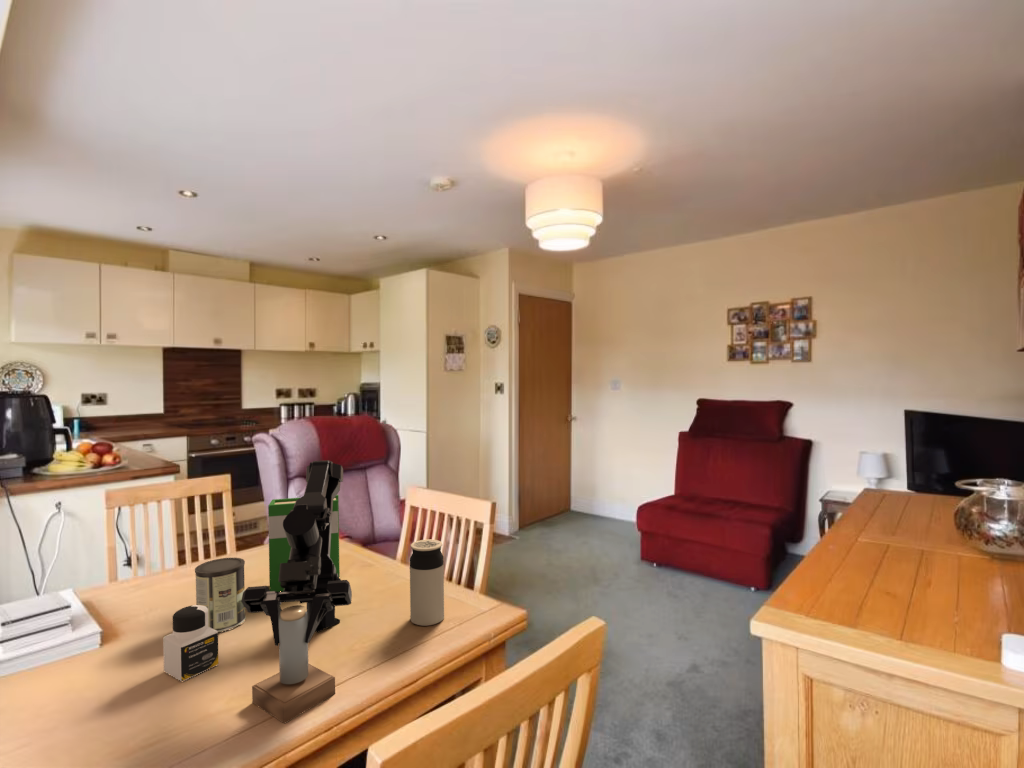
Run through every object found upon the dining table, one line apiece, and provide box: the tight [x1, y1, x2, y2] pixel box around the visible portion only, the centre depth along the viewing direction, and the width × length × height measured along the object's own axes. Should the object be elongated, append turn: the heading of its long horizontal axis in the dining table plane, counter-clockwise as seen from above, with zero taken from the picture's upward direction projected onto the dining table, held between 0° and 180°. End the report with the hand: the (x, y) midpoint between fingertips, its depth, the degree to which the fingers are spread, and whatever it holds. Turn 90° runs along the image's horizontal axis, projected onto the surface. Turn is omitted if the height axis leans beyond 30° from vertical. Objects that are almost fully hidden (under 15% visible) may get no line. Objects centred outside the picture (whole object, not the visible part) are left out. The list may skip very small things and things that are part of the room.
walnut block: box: [251, 663, 336, 724], centre depth 94 cm, size 10×10×3 cm
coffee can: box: [194, 557, 247, 633], centre depth 123 cm, size 10×10×14 cm
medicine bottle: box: [162, 604, 220, 682], centre depth 104 cm, size 7×7×12 cm
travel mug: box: [409, 538, 445, 627], centre depth 125 cm, size 8×8×18 cm
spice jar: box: [278, 604, 309, 684], centre depth 94 cm, size 5×5×12 cm
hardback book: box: [267, 494, 341, 592], centre depth 146 cm, size 18×7×24 cm, turn 107°
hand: (291, 644), depth 93 cm, fingers closed on spice jar, 5 cm apart
